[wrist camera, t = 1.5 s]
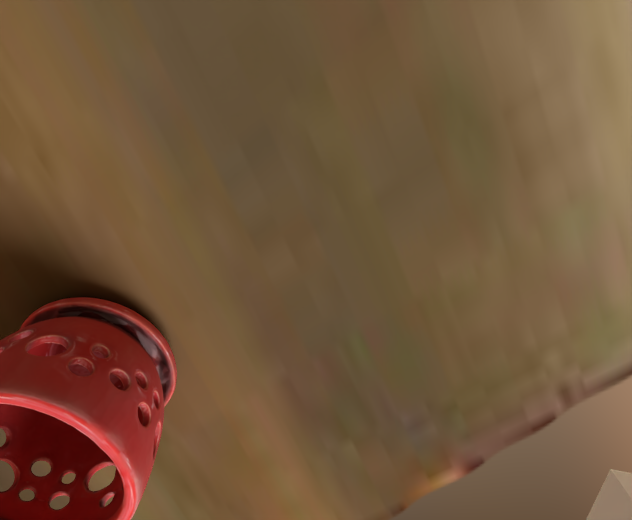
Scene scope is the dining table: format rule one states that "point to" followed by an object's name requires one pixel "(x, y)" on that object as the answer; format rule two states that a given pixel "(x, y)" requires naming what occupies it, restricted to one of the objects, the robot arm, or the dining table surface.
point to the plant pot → (82, 407)
